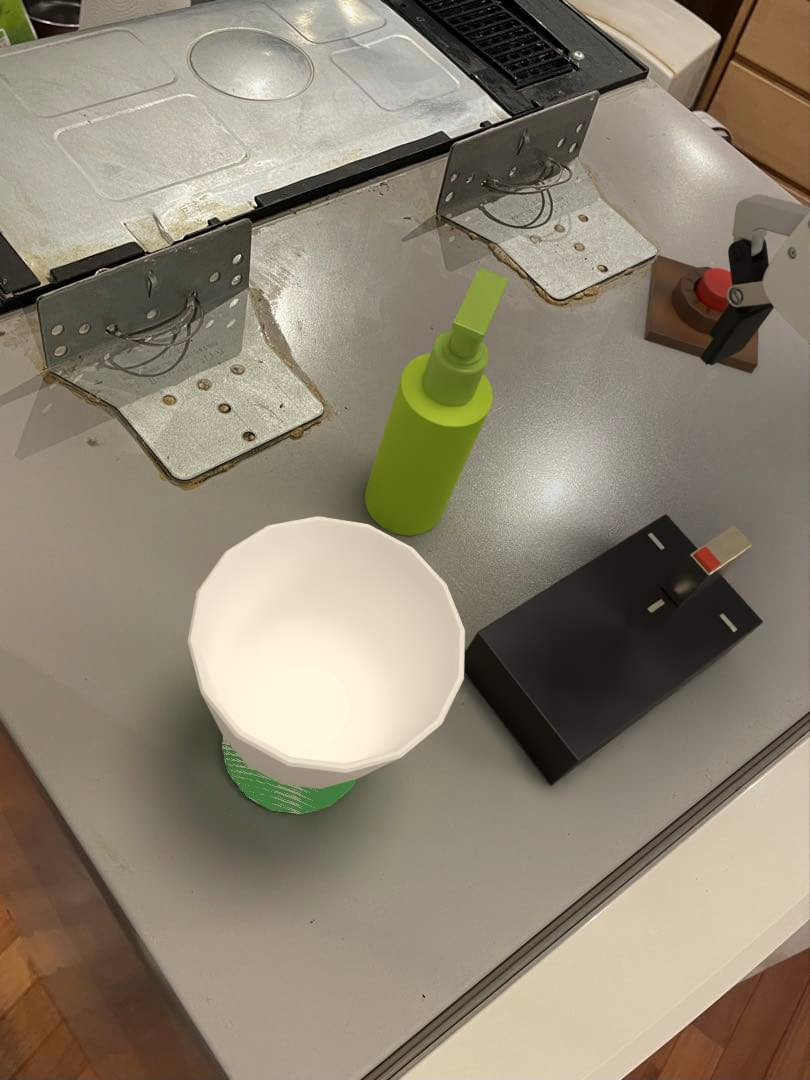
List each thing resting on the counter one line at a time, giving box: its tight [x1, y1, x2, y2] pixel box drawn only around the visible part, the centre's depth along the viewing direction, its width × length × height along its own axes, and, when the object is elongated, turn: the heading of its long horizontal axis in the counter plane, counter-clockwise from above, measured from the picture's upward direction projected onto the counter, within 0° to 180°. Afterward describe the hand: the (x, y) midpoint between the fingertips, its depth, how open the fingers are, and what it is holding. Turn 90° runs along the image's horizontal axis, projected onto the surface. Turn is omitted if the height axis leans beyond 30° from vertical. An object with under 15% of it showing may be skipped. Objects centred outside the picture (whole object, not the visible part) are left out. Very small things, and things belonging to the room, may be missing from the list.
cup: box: [187, 515, 466, 815], centre depth 55 cm, size 14×14×16 cm
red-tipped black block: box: [661, 524, 753, 606], centre depth 66 cm, size 4×2×5 cm, turn 127°
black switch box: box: [464, 513, 764, 786], centre depth 67 cm, size 20×10×5 cm, turn 127°
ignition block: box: [644, 254, 759, 374], centre depth 88 cm, size 10×10×3 cm
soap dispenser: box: [364, 266, 510, 537], centre depth 64 cm, size 6×7×20 cm
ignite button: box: [695, 267, 732, 312], centre depth 86 cm, size 4×4×2 cm
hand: (778, 415), depth 55 cm, fingers open, 9 cm apart
